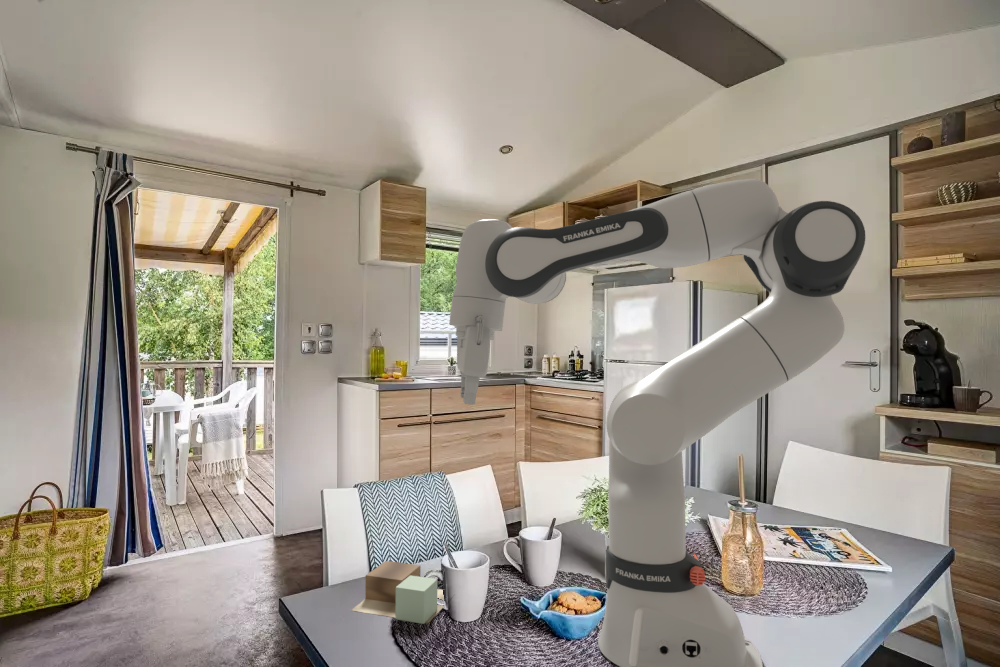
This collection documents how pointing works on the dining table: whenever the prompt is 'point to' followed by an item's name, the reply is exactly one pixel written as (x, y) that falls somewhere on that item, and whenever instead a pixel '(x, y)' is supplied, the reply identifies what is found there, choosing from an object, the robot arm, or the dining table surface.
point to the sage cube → (416, 599)
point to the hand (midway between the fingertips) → (467, 400)
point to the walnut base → (388, 580)
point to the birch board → (388, 607)
